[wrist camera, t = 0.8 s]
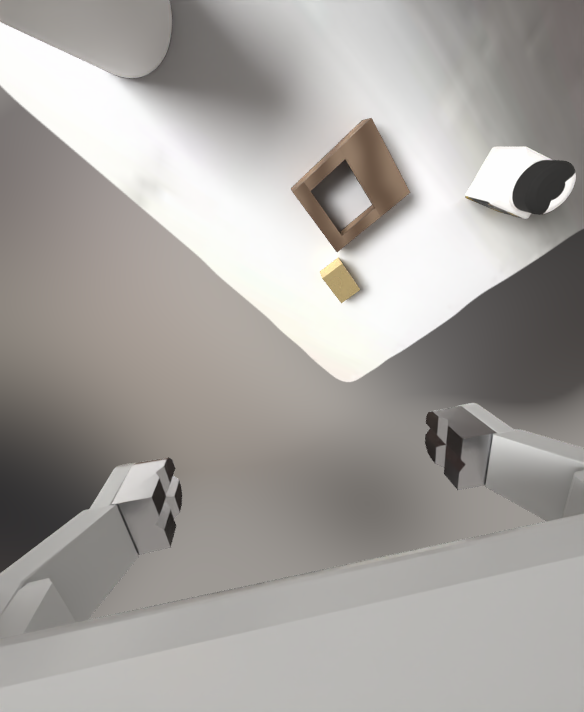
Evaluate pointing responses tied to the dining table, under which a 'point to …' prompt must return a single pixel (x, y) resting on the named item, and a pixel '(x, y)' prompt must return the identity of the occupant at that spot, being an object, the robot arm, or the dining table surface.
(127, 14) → the cylinder vase
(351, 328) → the dining table surface
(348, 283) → the brushed brass pillar
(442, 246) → the dining table surface
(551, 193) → the medicine bottle
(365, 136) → the brown wooden frame
